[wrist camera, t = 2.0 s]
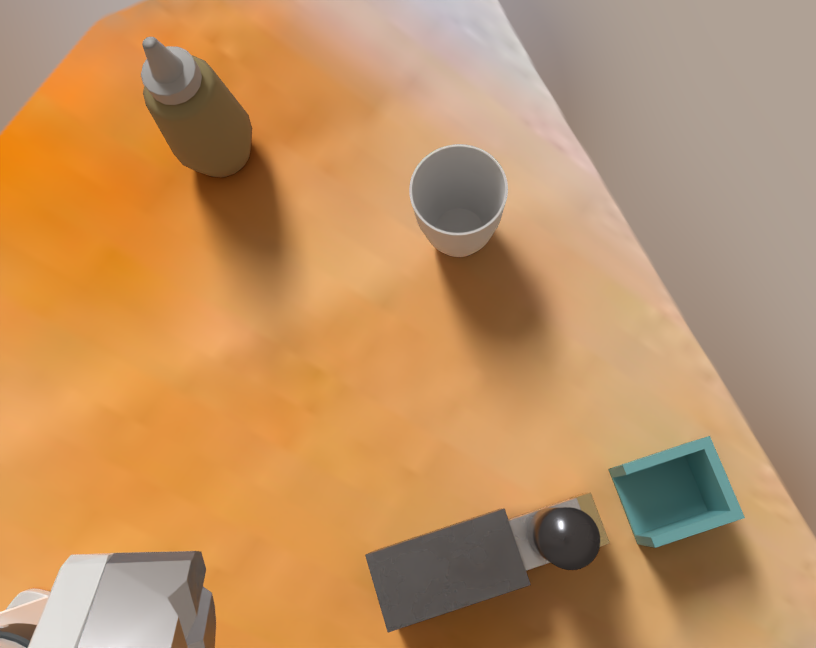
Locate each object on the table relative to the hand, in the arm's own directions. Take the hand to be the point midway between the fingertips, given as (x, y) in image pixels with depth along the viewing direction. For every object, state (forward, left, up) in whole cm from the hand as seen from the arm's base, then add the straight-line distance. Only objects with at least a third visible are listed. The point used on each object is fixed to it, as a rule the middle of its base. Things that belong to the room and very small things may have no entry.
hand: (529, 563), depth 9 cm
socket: (+13, -10, -57) cm, 59 cm away
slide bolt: (0, -3, -56) cm, 56 cm away
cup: (+17, +20, -57) cm, 63 cm away
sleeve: (-4, -1, -57) cm, 57 cm away
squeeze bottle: (+6, +43, -57) cm, 72 cm away
